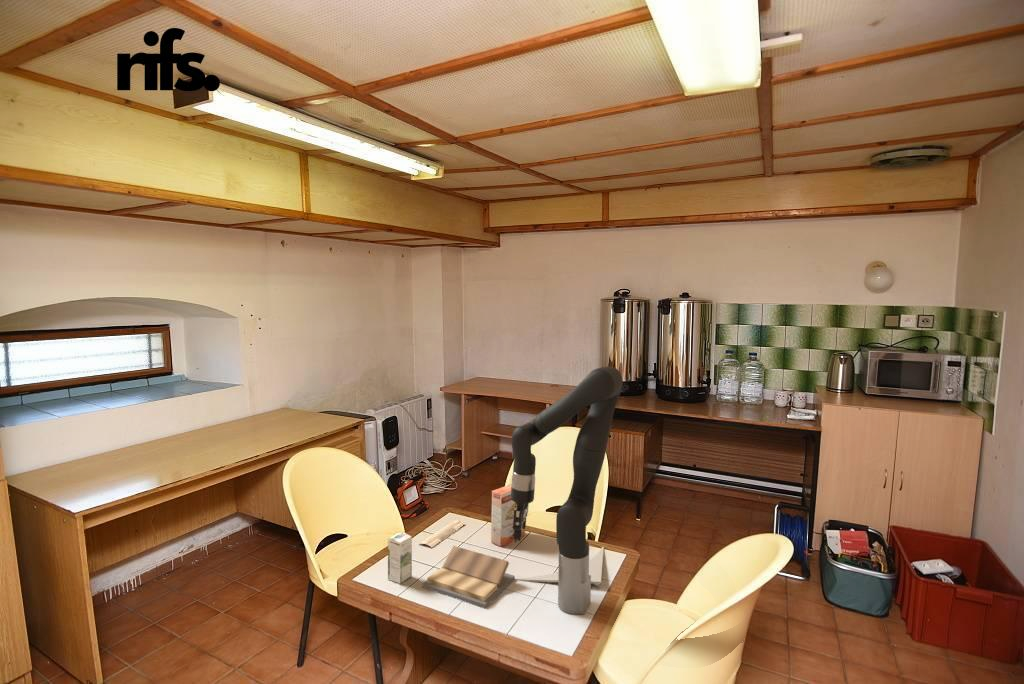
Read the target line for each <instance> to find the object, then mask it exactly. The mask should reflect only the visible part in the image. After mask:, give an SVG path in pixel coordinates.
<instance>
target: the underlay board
mask: <svg viewBox="0 0 1024 684" xmlns="http://www.w3.org/2000/svg"><path fill="white" fill-rule="evenodd" d="M515 578H516V576H515V575H514V574H511V573H507V572H505V574H504V576H503V579H502V581H501V583H500V585H499V586H497V590H496V591H495V592H494V593H493V594H492V595H491V596H490V597H488V598H487V599H486V600H485V601H481V600H478V599H475V598H472V597H469V596H466V595H463V594H460V593H457V592H454V591H451V590H448V589H445V588H442V587H439V586H436V585H433V584H430V583H427V580H425V581H424V582H423V583H422V588H425V589H426V590H430V591H433V592H437V593H439V594H443V595H444V594H445V595H444V596H447V595H448V596H447V597H450V596H451V597H450V598H453V597H454V599H456V598H457V600H459V599H460V600H459V601H462V600H463V602H465V601H466V602H465V603H468V602H469V603H468V604H471V603H472V604H471V605H474V606H477V607H479V606H480V608H482V607H483V608H482V609H485V607H486V606H487V605H488V604H489V605H490V604H491V603H492V602H493V601H494V600H495V599H496V598H497V597H498V596H499V595H500V594H501V593H503V591H504V590H505V589H507V587H508V586H509V585H510V584H511V583H513V582H514V581H515V580H514V579H515ZM489 605H488V606H489ZM488 606H487V607H488ZM487 607H486V608H487Z"/></svg>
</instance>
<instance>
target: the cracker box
mask: <svg viewBox="0 0 1024 684" xmlns="http://www.w3.org/2000/svg"><path fill="white" fill-rule="evenodd" d="M511 484H512V483H510V484H508V485H505V486H502V487H499V488H497V489H494V490H491V520H490V521H491V529H490V530H491V532H490V534H491V535H490V536H491V537H490V539H491V540H490V542H491V543H492V544H494V545H496V546H498V547H500V548H502V547H503V546H505V545H508V544H510V543H512V542H514V541H515V540H514V529H513V519H514V509H515V506H516V502H514V501H512V500H511ZM516 525H519V522H517V523H516ZM525 534H526V528H525V529H522V531H521V538H522V537H525V536H526V535H525Z"/></svg>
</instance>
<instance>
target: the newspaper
mask: <svg viewBox="0 0 1024 684" xmlns="http://www.w3.org/2000/svg"><path fill="white" fill-rule="evenodd" d="M464 524H466V523H465V522H463V521H461V520H453V521H451V522H450V523H448V524H447V525H446V526H444V527H442V528H441V529H440V530H437V531H436V532H435V533H433V534H432V535H430V536H428V537H427V538H425V539H424V540H422V541H421V542H420V543H419V544H421V545H427V546H429V547H430V548H431V549H433V548H434V547H436V546H437V545H438V543H439V542H440V543H441V542H443V541H444V540H446V539H447V538H449V537H450V536H452V535H453V534H454V533H455V532H454V531H456V530H457V529H459V527H461V526H463V525H464ZM463 527H464V526H463ZM459 530H460V529H459ZM457 531H458V530H457ZM457 531H456V532H457ZM453 532H454V533H453ZM452 533H453V534H452ZM451 534H452V535H451ZM449 535H450V536H449ZM448 536H449V537H448ZM446 537H447V538H446ZM445 538H446V539H445ZM442 540H443V541H442ZM440 543H439V544H440ZM419 544H418V545H419ZM436 544H437V545H436ZM435 545H436V546H435ZM432 547H433V548H432Z"/></svg>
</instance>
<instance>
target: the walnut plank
mask: <svg viewBox="0 0 1024 684" xmlns="http://www.w3.org/2000/svg"><path fill="white" fill-rule="evenodd" d="M509 565H510V563H509V561H508V560H505V559H501V558H497V557H494V556H491V555H487V554H483V553H480V552H476V551H474V550H470V549H466V548H463V547H460V546H455V545H453V546H452V548H451V550H450V551H449V553H448V555H447V557H446V559H445V562H444V563H443V564H442V566H441V567H443V568H447V569H450V570H453V571H456V572H459V573H463V574H466V575H469V576H472V577H475V578H479V579H482V580H485V581H488V582H491V583H495V584H497V586H499V585H500V583H501V581H502V579H503V576H504V574H505V573H507V569H508V568H509Z"/></svg>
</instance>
